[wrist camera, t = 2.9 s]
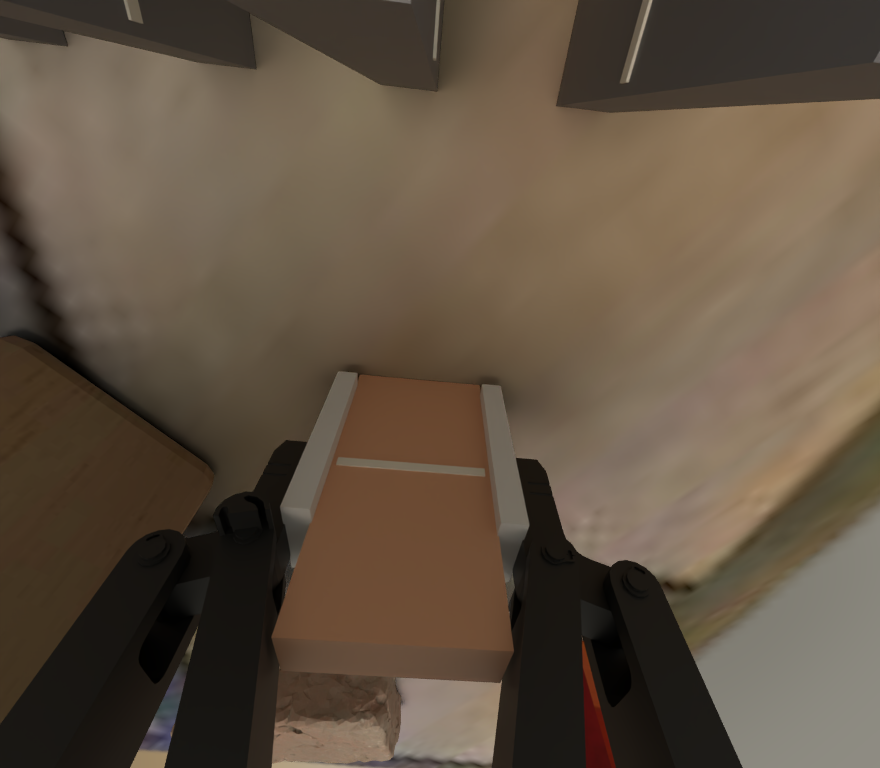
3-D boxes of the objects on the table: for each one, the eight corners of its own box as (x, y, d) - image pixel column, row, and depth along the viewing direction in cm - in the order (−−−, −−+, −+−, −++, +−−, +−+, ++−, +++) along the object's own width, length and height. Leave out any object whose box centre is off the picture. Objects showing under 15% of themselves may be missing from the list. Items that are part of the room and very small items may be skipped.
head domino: (473, 415, 17) (499, 683, 9) (360, 406, 17) (281, 671, 9) (479, 384, 17) (514, 649, 8) (359, 373, 16) (271, 636, 8)
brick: (390, 660, 32) (382, 736, 28) (404, 701, 37) (399, 770, 33) (194, 664, 33) (160, 737, 29) (232, 703, 38) (207, 771, 34)
